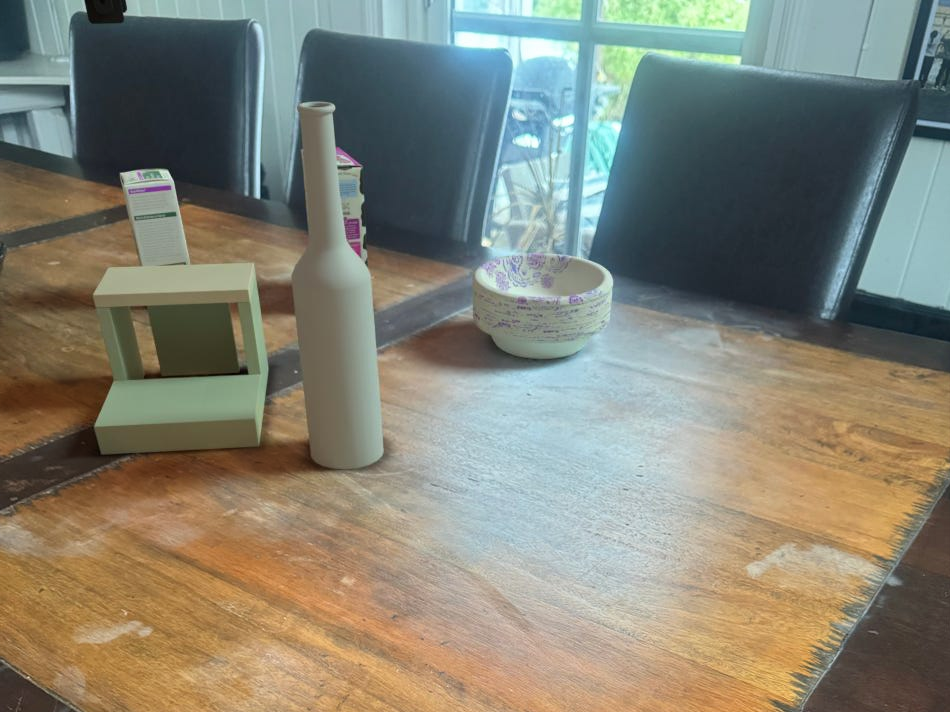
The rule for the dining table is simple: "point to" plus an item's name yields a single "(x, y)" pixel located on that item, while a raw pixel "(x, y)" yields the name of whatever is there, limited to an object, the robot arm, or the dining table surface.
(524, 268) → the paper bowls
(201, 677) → the dining table surface
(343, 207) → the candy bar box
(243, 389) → the shelf
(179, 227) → the syrup box
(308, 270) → the bottle
